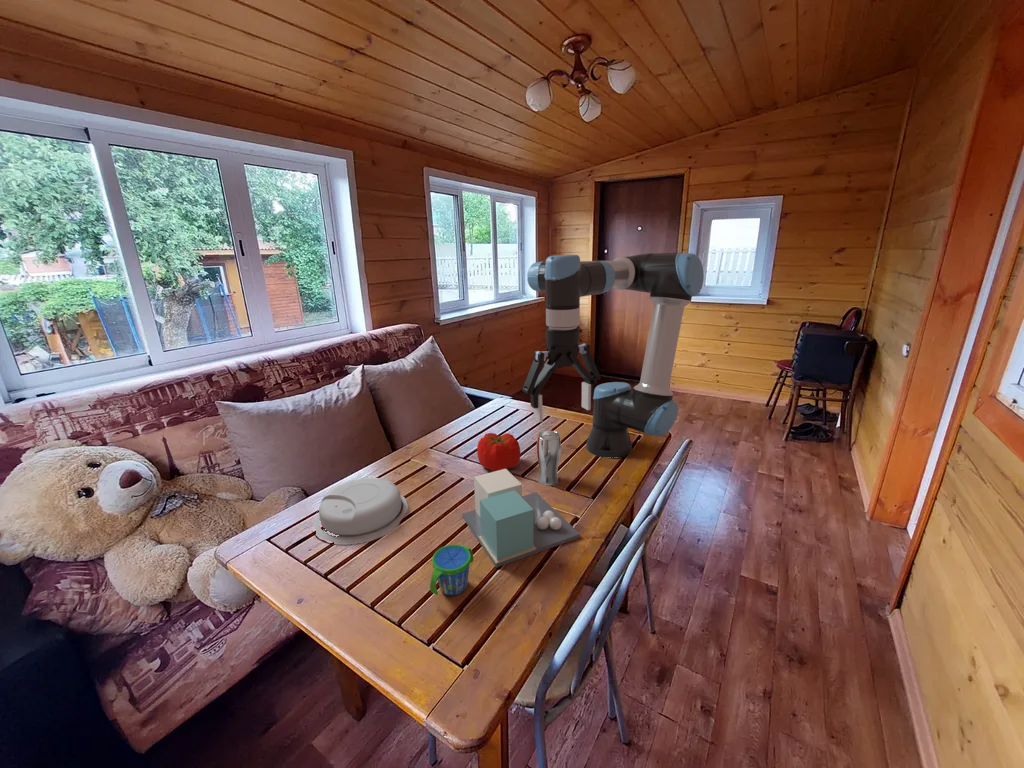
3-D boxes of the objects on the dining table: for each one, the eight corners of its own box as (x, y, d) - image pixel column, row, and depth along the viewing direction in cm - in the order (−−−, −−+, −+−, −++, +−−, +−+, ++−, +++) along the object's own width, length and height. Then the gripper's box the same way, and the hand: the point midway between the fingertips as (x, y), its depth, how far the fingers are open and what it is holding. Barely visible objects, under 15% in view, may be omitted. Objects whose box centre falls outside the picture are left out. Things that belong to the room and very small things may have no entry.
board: (536, 495, 120) (536, 491, 119) (579, 537, 102) (580, 532, 101) (462, 516, 110) (462, 512, 110) (496, 567, 92) (495, 562, 92)
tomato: (470, 472, 132) (469, 441, 129) (488, 454, 144) (487, 425, 141) (511, 480, 128) (510, 448, 124) (526, 461, 139) (526, 431, 136)
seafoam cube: (515, 526, 104) (514, 490, 101) (533, 547, 96) (533, 509, 93) (481, 537, 100) (479, 500, 97) (497, 560, 92) (496, 520, 90)
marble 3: (557, 523, 105) (557, 513, 104) (564, 530, 103) (564, 519, 102) (546, 527, 104) (547, 516, 103) (553, 533, 101) (553, 523, 101)
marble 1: (544, 523, 105) (544, 512, 105) (551, 530, 103) (551, 519, 102) (534, 526, 104) (534, 516, 103) (540, 533, 102) (540, 522, 101)
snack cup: (445, 614, 81) (442, 582, 78) (419, 594, 85) (416, 563, 83) (486, 579, 89) (485, 549, 87) (461, 563, 94) (459, 534, 91)
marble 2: (550, 517, 108) (550, 506, 107) (557, 523, 105) (557, 512, 104) (540, 520, 107) (540, 509, 106) (546, 526, 104) (546, 516, 103)
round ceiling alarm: (428, 514, 112) (426, 494, 110) (333, 560, 96) (329, 536, 94) (384, 480, 130) (381, 461, 128) (297, 513, 114) (293, 493, 112)
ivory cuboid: (506, 501, 115) (505, 468, 112) (522, 519, 107) (521, 484, 104) (475, 510, 111) (473, 476, 108) (489, 529, 103) (488, 493, 100)
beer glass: (558, 488, 123) (559, 440, 118) (535, 486, 124) (535, 439, 120) (561, 476, 129) (562, 430, 125) (538, 474, 131) (538, 429, 126)
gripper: (597, 318, 104) (595, 399, 111) (505, 330, 94) (509, 419, 100) (617, 322, 98) (614, 408, 104) (521, 336, 87) (524, 431, 94)
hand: (562, 414), depth 102 cm, fingers open, 13 cm apart
